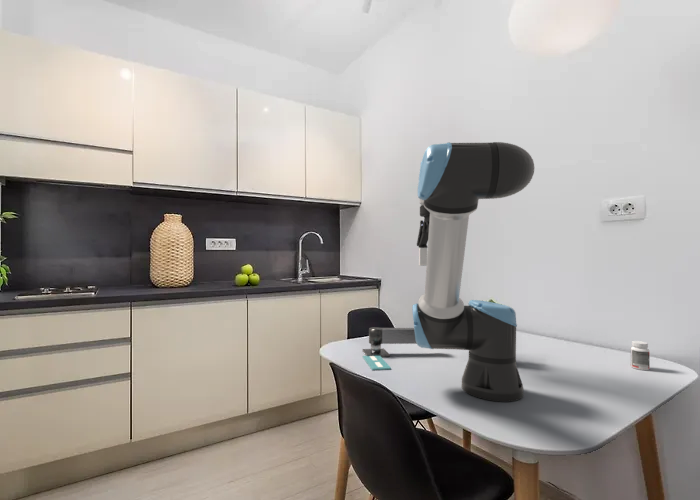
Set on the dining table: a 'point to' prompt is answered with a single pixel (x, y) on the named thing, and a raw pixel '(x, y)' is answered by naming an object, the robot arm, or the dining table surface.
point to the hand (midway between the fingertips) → (430, 266)
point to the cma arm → (391, 336)
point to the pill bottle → (640, 355)
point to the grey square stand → (376, 351)
